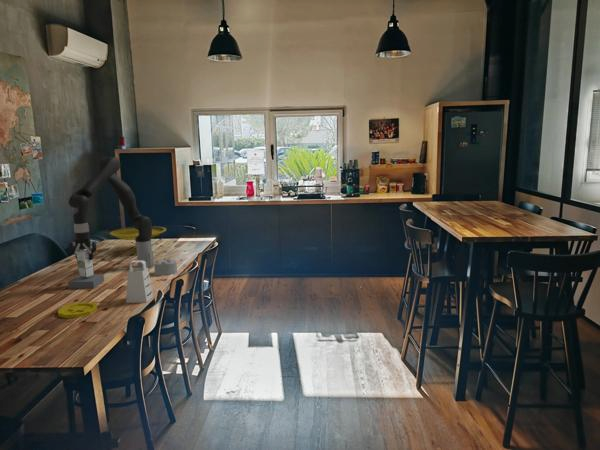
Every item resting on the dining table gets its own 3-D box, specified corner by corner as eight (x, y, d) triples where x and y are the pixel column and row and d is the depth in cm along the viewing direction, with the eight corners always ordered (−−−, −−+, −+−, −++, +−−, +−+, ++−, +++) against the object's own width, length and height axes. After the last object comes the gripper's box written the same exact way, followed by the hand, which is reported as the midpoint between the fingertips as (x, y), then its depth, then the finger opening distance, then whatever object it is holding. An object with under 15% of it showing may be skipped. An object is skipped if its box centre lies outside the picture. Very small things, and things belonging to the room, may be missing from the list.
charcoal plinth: (104, 280, 274) (103, 274, 273) (93, 288, 260) (93, 281, 259) (80, 281, 274) (79, 274, 273) (68, 288, 260) (68, 281, 259)
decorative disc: (57, 321, 213) (57, 317, 213) (59, 309, 229) (59, 305, 229) (97, 315, 220) (97, 311, 220) (96, 303, 236) (96, 300, 236)
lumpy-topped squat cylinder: (156, 271, 292) (155, 258, 291) (177, 270, 295) (176, 256, 293) (154, 276, 282) (153, 262, 281) (176, 274, 285) (175, 260, 283)
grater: (133, 295, 247) (130, 258, 243) (153, 295, 246) (151, 258, 243) (126, 302, 236) (122, 264, 233) (146, 302, 236) (143, 263, 232)
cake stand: (179, 248, 356) (178, 228, 353) (135, 259, 322) (133, 238, 320) (143, 242, 377) (142, 224, 374) (99, 253, 344) (97, 233, 341)
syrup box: (94, 274, 268) (91, 249, 265) (86, 277, 262) (83, 252, 260) (86, 273, 270) (83, 249, 267) (78, 276, 264) (75, 251, 262)
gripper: (97, 229, 265) (100, 258, 268) (72, 229, 265) (75, 258, 268) (91, 232, 258) (94, 261, 261) (65, 232, 258) (68, 261, 261)
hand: (84, 259), depth 264 cm, fingers closed on syrup box, 6 cm apart
